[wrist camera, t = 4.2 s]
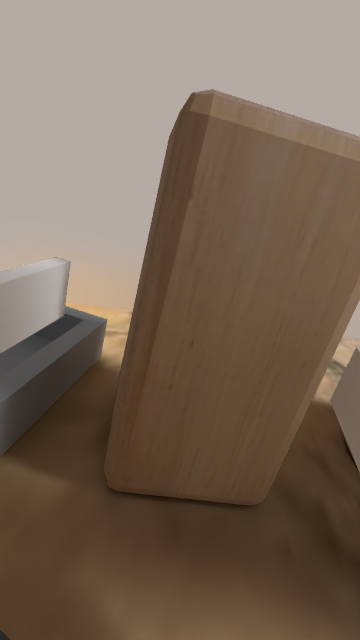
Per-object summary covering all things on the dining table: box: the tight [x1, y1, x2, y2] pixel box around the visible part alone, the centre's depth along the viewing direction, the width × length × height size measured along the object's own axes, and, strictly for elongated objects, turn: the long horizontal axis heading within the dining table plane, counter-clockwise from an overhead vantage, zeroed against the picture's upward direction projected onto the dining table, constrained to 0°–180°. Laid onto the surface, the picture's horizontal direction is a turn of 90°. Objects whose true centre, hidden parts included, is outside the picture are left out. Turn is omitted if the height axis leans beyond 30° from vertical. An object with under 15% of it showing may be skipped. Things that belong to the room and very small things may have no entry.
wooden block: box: [103, 90, 360, 506], centre depth 20 cm, size 10×10×20 cm
